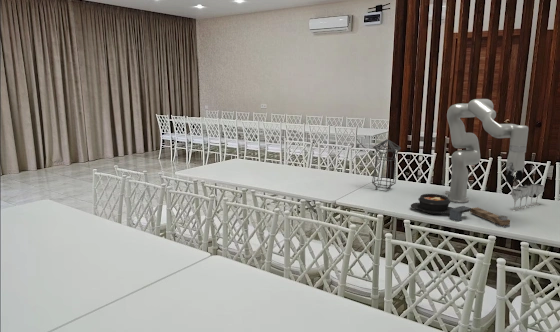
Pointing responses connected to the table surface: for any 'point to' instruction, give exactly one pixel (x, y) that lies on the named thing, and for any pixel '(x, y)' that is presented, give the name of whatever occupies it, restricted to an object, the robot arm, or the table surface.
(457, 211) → the keeper
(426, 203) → the casserole
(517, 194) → the goblet set
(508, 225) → the pintle plate
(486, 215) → the brown wooden bar
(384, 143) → the geometric lantern
